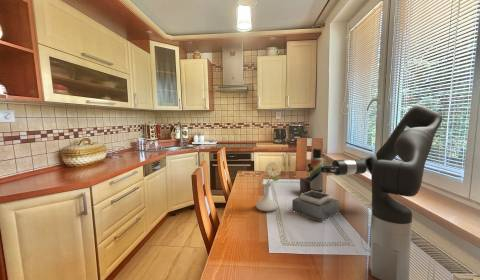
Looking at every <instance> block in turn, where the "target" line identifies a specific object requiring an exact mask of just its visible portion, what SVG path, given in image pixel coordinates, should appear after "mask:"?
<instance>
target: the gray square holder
mask: <svg viewBox="0 0 480 280" xmlns="http://www.w3.org/2000/svg"><path fill="white" fill-rule="evenodd" d="M291 203H292V205H291V206H292V210H291V211H292V212H293V211H295V212H294V213H296V212H297V213H296V214H298V213H300V214H299V215H301V214H303V215H302V216H304V215H305V216H304V217H307V216H308V217H307V218H309V217H310V218H309V219H312V218H313V219H312V220H315V219H316V220H315V221H317V220H319V221H318V222H320V221H321V222H320V223H323V221H324V222H326V221H327V220H329V219H330V218H332V217H334V216H335V215H337V214H338V212H339V213H340V200H338V199H335V198H332V195H331V194H328V193H325V192H322V193H321V192H317V191H313V190H311V191H308V192H306V193H303V194H302V193H300V194H299V196H298V197H296V198H294V199H292V202H291ZM336 213H337V214H336ZM333 215H334V216H333ZM331 216H332V217H331ZM329 217H330V218H329ZM328 218H329V219H328ZM326 219H327V220H326Z"/></svg>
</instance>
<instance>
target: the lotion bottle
mask: <svg viewBox="0 0 480 280" xmlns="http://www.w3.org/2000/svg"><path fill="white" fill-rule="evenodd" d="M310 163H311V167H312V171H311V183H310V186H311V189H314V190H322V188H323V187H324V185H323V184H324V172H322V171H321V168H322V167H323V164H324V158H322V149H321V148H315V147H314V148H313V150H312V157H311V158H310ZM322 191H323V190H322Z"/></svg>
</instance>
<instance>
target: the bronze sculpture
mask: <svg viewBox="0 0 480 280" xmlns="http://www.w3.org/2000/svg"><path fill="white" fill-rule="evenodd" d="M310 166H311V162H310V163H308V164H307V167H308V168H309V167H310ZM306 173H309V176H306V177H301V178H299V192H300V194H302V193H306V192H308V191H311V190H313V191H317V192H321V193H323V188H322V190H314V189H311V186H310V183H311V171H310V170H309V169H308V170H307V171H306Z"/></svg>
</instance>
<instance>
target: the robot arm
mask: <svg viewBox="0 0 480 280" xmlns="http://www.w3.org/2000/svg"><path fill="white" fill-rule="evenodd" d="M442 123H443V115H442V114H441V113H440V112H439V111H435V110H434V109H431V108H428V107H426V106H424V105H421V104H415V105H413V106H412V107H410V109H409V110H408V111H406V113H405V114H404V116H403V117H402V118H401V120H400V121H399V122H398V124H397V125H396V126H395V128H394V130H393V131H392V132H391V134H390V136H389V137H388V138H387V140H386V141H385V142H384V143H383V144H382V146H381V147H380V148H379V149H378V150H377V152H376V155H370V156H366V157H363V158H360V159H335V160H332V162H331V164H330V163H328V162H327V163H323V167H322V168H321V171H322V172H323V173H327V174H334V175H335V176H348V175H359V174H360V175H362V174H365V173H366V172H367V170H368V172H369V173H370V175H371V177H370V178H371V226H370V227H371V233H370V253H369V254H370V256H369V257H370V259H369V269H370V272H371V276H372V277H374V278H376V279H378V280H410V265H411V248H412V247H411V245H412V244H411V243H412V229H413V228H412V227H413V226H412V225H413V213H412V210H411V209H410V208H409V207H407V206H406V205H404V204H402V203H400V202H398V201H397V200H395V199H394V198H393V197H391V195H395V196H396V195H397V196H402V197H409V198H411V197H412V198H413V197H415V196H416V195H417V194H418V193H419V191H420V189H421V186H422V181H423V176H424V170H425V166H426V162H427V159H428V157H429V154H430V152H431V149H432V147H433V142H434V138H435V135H436V133H437V131H438V130H439V128H440V125H441V124H442ZM407 127H408V128H407ZM406 128H407V129H406ZM396 157H399V159H400V160H401V161H398V160H397V161H396V160H394V159H395V158H396ZM309 170H310V171H312V167H311V166H310V167H308V171H309ZM390 194H391V195H390Z"/></svg>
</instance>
